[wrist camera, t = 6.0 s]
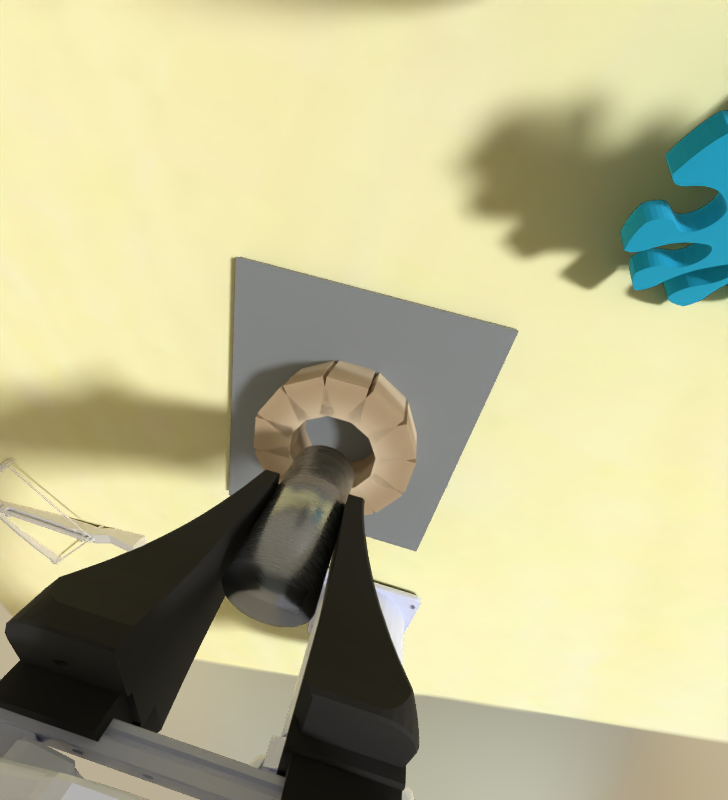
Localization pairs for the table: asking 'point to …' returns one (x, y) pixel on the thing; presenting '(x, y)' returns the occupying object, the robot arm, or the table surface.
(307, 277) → the mat
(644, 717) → the table surface
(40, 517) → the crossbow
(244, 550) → the peg
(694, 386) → the table surface
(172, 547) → the robot arm
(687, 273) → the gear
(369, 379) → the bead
